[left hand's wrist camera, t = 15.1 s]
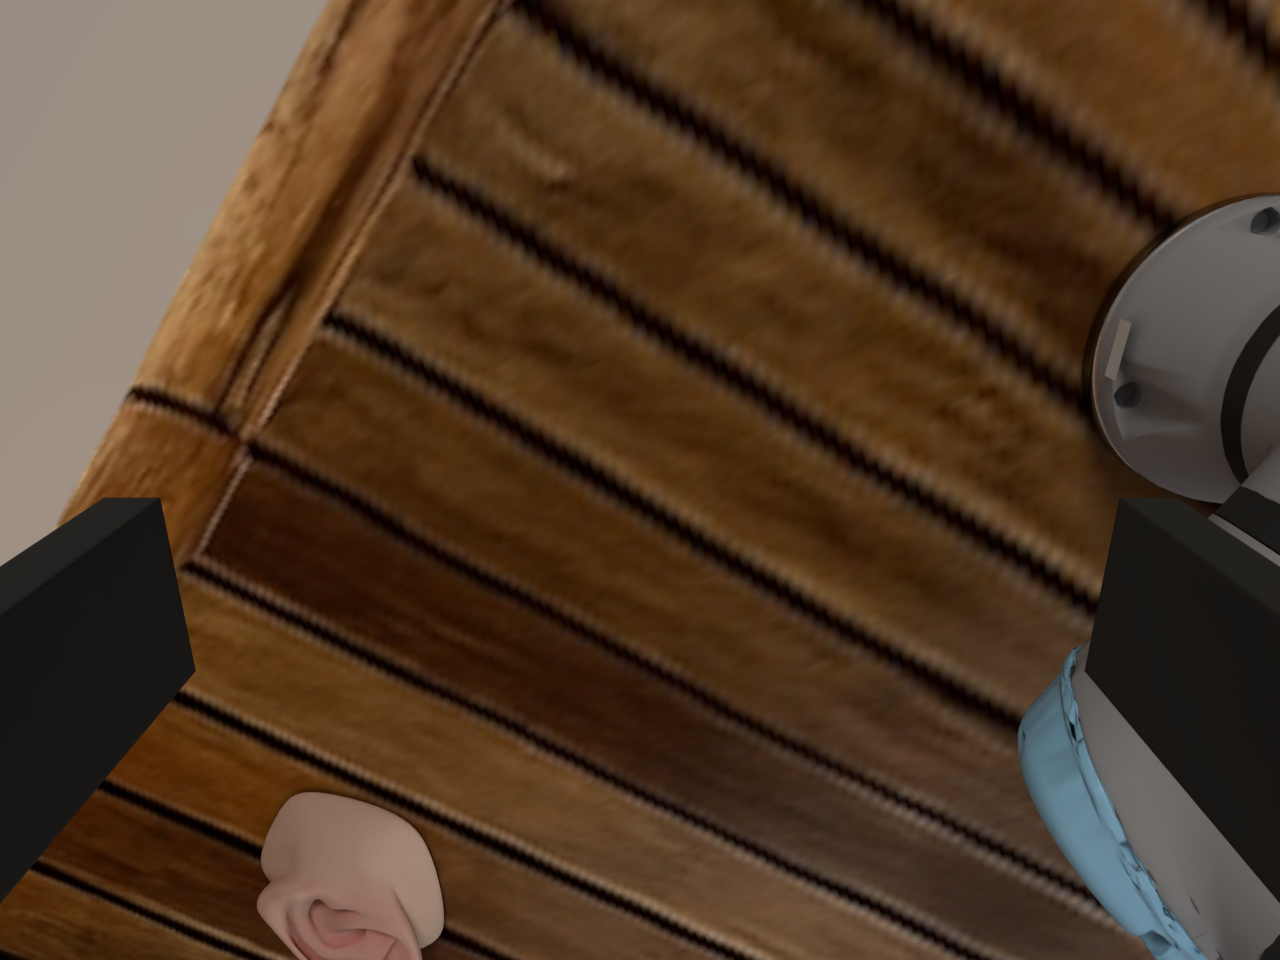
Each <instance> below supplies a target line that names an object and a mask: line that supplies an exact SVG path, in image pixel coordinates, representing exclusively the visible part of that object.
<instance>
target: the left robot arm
mask: <svg viewBox="0 0 1280 960" xmlns="http://www.w3.org/2000/svg"><path fill="white" fill-rule="evenodd" d="M1084 390H1085V397H1086V403H1087V407H1088V410H1089V414H1090V417H1091V419H1092V422H1093V424H1094V427H1095V429H1096V430H1097V432H1098V434H1099V436H1100V438H1101V439H1102V441H1103V442H1104V444H1105V445H1106V446H1107V448H1108V449H1109V450H1110V451H1111V452H1112V453H1113V454H1114V456H1115V457H1116V458H1117V459H1119V460H1120V461H1121V462H1122V463H1123V464H1124V465H1125V466H1127V467H1128V468H1130V469H1131V470H1133V471H1134V472H1136V473H1137V474H1139V475H1140V476H1142V477H1143V478H1145V479H1146V480H1148V481H1150V482H1151V483H1153V484H1155V485H1157V486H1159V487H1161V488H1164V489H1166V490H1169V491H1171V492H1174V493H1177V494H1179V495H1182V496H1185V497H1188V498H1192V499H1196V500H1201V501H1207V502H1215V503H1223V504H1222V505H1221V506H1220V507H1219V508H1218V510H1217V511H1216V512H1214V513H1213V514H1211V515H1210V516H1209V517H1208V519H1207V518H1206V517H1204V516H1203V515H1201V514H1200V513H1198V512H1197V511H1195V510H1194V509H1192V508H1191V507H1189V506H1188V505H1186V504H1185V503H1183V502H1182V501H1180V500H1179V499H1177V498H1120V500H1119V505H1118V510H1117V515H1116V519H1115V524H1114V529H1113V534H1112V539H1111V544H1110V549H1109V554H1108V558H1107V563H1106V568H1105V573H1104V578H1103V583H1102V588H1101V592H1100V597H1099V602H1098V607H1097V612H1096V617H1095V622H1094V627H1093V631H1092V636H1091V638H1090V639H1089V640H1088V641H1087V642H1086V643H1085V644H1084V645H1081V646H1080V647H1077V648H1075V649H1073V651H1071V652H1070V653H1069V655H1068V656H1067V657H1066V659H1065V662H1064V664H1063V666H1062V670H1061V672H1060V673H1059V674H1058V675H1057V676H1056V678H1055V679H1054V680H1053V681H1052V682H1051V683H1050V684H1049V686H1048V687H1047V688H1046V689H1045V690H1044V691H1043V692H1042V694H1041V695H1040V696H1039V697H1038V698H1037V699H1036V700H1035V702H1034V703H1033V704H1032V705H1031V706H1030V707H1029V709H1028V710H1027V711H1026V713H1025V715H1024V717H1023V718H1022V721H1021V724H1020V727H1019V731H1018V753H1019V756H1020V767H1021V772H1022V775H1023V778H1024V781H1025V784H1026V786H1027V789H1028V792H1029V794H1030V796H1031V799H1032V801H1033V803H1034V805H1035V807H1036V809H1037V811H1038V813H1039V815H1040V816H1041V818H1042V820H1043V822H1044V824H1045V825H1046V827H1047V829H1048V831H1049V832H1050V834H1051V836H1052V837H1053V839H1054V840H1055V842H1056V844H1057V845H1058V847H1059V848H1060V850H1061V851H1062V853H1063V854H1064V856H1065V857H1066V859H1067V860H1068V861H1069V863H1070V864H1071V866H1072V867H1073V868H1074V870H1075V871H1076V873H1077V874H1078V875H1079V877H1080V878H1081V879H1082V881H1083V882H1084V883H1085V885H1086V886H1087V887H1088V888H1089V890H1090V891H1091V892H1092V893H1093V895H1094V896H1095V897H1096V898H1097V900H1098V901H1099V902H1100V903H1101V904H1102V905H1103V907H1104V908H1105V909H1106V910H1107V911H1108V912H1109V914H1110V915H1111V916H1112V917H1113V918H1114V919H1115V920H1116V921H1117V922H1118V923H1119V925H1120V926H1121V927H1123V928H1124V929H1125V930H1126V931H1127V932H1128V933H1129V934H1131V935H1138V936H1139V937H1140V938H1141V940H1142V941H1143V942H1144V944H1145V945H1146V947H1147V948H1148V950H1149V951H1150V953H1151V954H1152V956H1153V957H1154V958H1155V959H1156V960H1280V193H1258V194H1249V195H1244V196H1239V197H1234V198H1230V199H1227V200H1224V201H1221V202H1218V203H1215V204H1212V205H1210V206H1207V207H1205V208H1202V209H1200V210H1198V211H1196V212H1194V213H1192V214H1190V215H1188V216H1186V217H1184V218H1183V219H1181V220H1180V221H1178V222H1176V223H1175V224H1173V225H1172V226H1170V227H1169V228H1167V229H1166V230H1165V231H1163V232H1162V233H1161V234H1159V235H1158V236H1157V237H1155V238H1154V239H1153V240H1152V241H1151V242H1150V243H1149V244H1147V245H1146V246H1145V247H1144V248H1143V249H1142V250H1141V251H1140V252H1139V253H1138V254H1137V255H1136V256H1135V257H1134V258H1133V259H1132V260H1131V261H1130V263H1129V264H1128V265H1127V266H1126V268H1125V269H1124V270H1123V271H1122V272H1121V274H1120V275H1119V276H1118V278H1117V279H1116V281H1115V282H1114V284H1113V285H1112V287H1111V288H1110V290H1109V292H1108V293H1107V295H1106V297H1105V299H1104V300H1103V302H1102V304H1101V306H1100V309H1099V311H1098V313H1097V315H1096V317H1095V320H1094V323H1093V326H1092V328H1091V331H1090V335H1089V339H1088V343H1087V347H1086V354H1085V360H1084ZM195 671H196V670H195V665H194V661H193V656H192V651H191V646H190V641H189V636H188V631H187V627H186V622H185V617H184V612H183V607H182V602H181V597H180V592H179V588H178V583H177V578H176V573H175V568H174V563H173V558H172V554H171V549H170V544H169V539H168V534H167V529H166V524H165V519H164V515H163V510H162V505H161V500H160V498H103V499H101V500H100V501H98V502H97V503H95V504H94V505H92V506H91V507H89V508H88V509H86V510H85V511H83V512H82V513H80V514H79V515H77V516H76V517H74V518H73V519H71V520H70V521H68V522H67V523H65V524H64V525H62V526H61V527H59V528H58V529H56V530H55V531H53V532H52V533H50V534H49V535H47V536H46V537H44V538H43V539H41V540H40V541H38V542H36V543H35V544H34V545H32V546H30V547H29V548H27V549H26V550H24V551H23V552H21V553H20V554H18V555H17V556H15V557H14V558H12V559H11V560H9V561H8V562H6V563H5V564H3V565H2V566H0V903H1V902H2V901H3V900H4V898H5V897H6V896H7V895H8V894H9V892H10V891H11V890H12V889H13V888H14V886H15V885H16V884H17V883H18V882H19V881H20V879H21V878H22V877H23V876H24V875H25V873H26V872H27V871H28V870H29V869H30V867H31V866H32V865H33V864H34V863H35V862H36V860H37V859H38V858H39V857H40V856H41V854H42V853H43V852H44V851H45V850H46V848H47V847H48V846H49V845H50V844H51V842H52V841H53V840H54V839H55V838H56V837H57V835H58V834H59V833H60V832H61V831H62V829H63V828H64V827H65V826H66V825H67V823H68V822H69V821H70V820H71V819H72V817H73V816H74V815H75V814H76V813H77V812H78V810H79V809H80V808H81V807H82V806H83V804H84V803H85V802H86V801H87V800H88V798H89V797H90V796H91V795H92V794H93V793H94V791H95V790H96V789H97V788H98V787H99V785H100V784H101V783H102V782H103V781H104V779H105V778H106V777H107V776H108V775H109V773H110V772H111V771H112V770H113V769H114V768H115V766H116V765H117V764H118V763H119V762H120V760H121V759H122V758H123V757H124V756H125V754H126V753H127V752H128V751H129V750H130V748H131V747H132V746H133V745H134V744H135V743H136V741H137V740H138V739H139V738H140V737H141V735H142V734H143V733H144V732H145V731H146V729H147V728H148V727H149V726H150V725H151V724H152V722H153V721H154V720H155V719H156V718H157V716H158V715H159V714H160V713H161V712H162V710H163V709H164V708H165V707H166V706H167V704H168V703H169V702H170V701H171V700H172V699H173V697H174V696H175V695H176V694H177V693H178V691H179V690H180V689H181V688H182V687H183V685H184V684H185V683H186V682H187V681H188V679H189V678H190V677H191V676H192V675H193V674H194V672H195Z"/></svg>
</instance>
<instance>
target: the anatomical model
mask: <svg viewBox="0 0 1280 960" xmlns="http://www.w3.org/2000/svg"><path fill="white" fill-rule="evenodd" d="M261 864H262V869H263V871H264V873H265V875H266V876H267V878H268V879H269V881H270V883H269V884H268V885H267V887H266V888H265V889H264V890H263V891H262V893H261V894H260V896H259V898H258V901H257V909H258V911H259V914H260V915H261V916H262V918H263V919H264V920H265V921H266V923H267V924H268V925H269V926H270V927H271V928H272V929H273V931H274V932H275V933H276V934H277V935H278V936H279V937H280V939H281V940H282V941H283V942H284V943H285V944H286V945H287V946H288V948H289V949H290V950H291V951H292V952H293V953H294V954H295V955H296V956H297V957H298V958H299V959H300V960H422V955H421V950H420V948H423V947H426V946H427V945H429V944H431V943H432V942H434V941H435V940H436V939H437V938H438V937H439V935H440V934H441V932H442V929H443V924H444V908H443V901H442V895H441V890H440V885H439V881H438V877H437V873H436V870H435V867H434V864H433V861H432V858H431V855H430V853H429V851H428V848H427V846H426V844H425V842H424V840H423V839H422V837H421V836H420V834H419V833H418V832H417V831H416V830H415V829H414V828H413V827H412V826H411V825H410V824H409V823H408V822H406V821H405V820H404V819H402V818H400V817H399V816H397V815H395V814H393V813H391V812H389V811H387V810H385V809H382V808H380V807H377V806H374V805H372V804H369V803H366V802H362V801H358V800H355V799H351V798H347V797H343V796H338V795H333V794H326V793H320V792H304V793H300V794H297V795H294V796H292V797H291V798H290V799H289V800H288V801H287V802H286V803H285V804H284V805H283V807H282V808H281V810H280V811H279V813H278V815H277V816H276V818H275V820H274V822H273V824H272V826H271V828H270V830H269V832H268V834H267V837H266V840H265V843H264V847H263V851H262V855H261Z"/></svg>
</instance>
